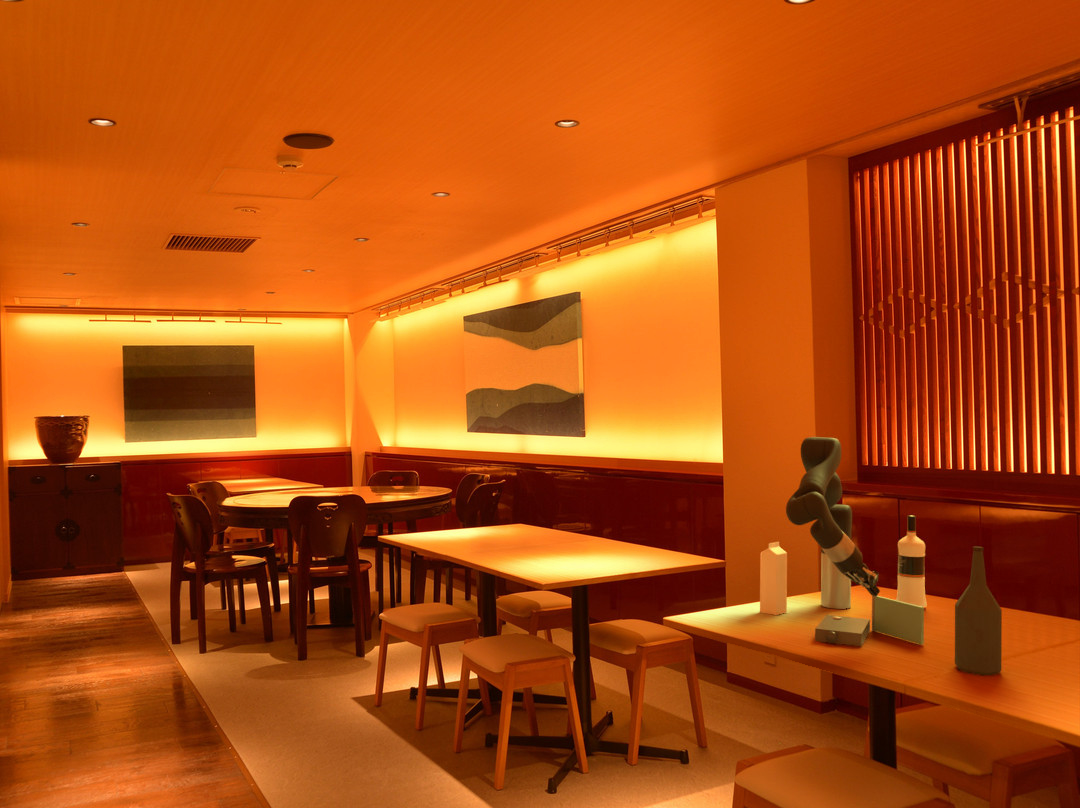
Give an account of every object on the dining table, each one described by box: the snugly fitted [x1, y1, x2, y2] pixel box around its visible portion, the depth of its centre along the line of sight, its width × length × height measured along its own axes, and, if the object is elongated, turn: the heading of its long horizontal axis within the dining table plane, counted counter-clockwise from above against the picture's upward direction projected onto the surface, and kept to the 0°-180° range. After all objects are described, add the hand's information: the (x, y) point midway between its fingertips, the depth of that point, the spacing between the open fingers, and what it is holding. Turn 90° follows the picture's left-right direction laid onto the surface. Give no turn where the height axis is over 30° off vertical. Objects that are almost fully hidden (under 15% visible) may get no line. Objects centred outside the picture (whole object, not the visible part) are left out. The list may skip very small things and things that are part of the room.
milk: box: [759, 541, 788, 616], centre depth 281 cm, size 6×6×22 cm
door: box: [871, 595, 925, 645], centre depth 250 cm, size 18×1×10 cm, turn 24°
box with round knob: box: [814, 614, 871, 647], centre depth 250 cm, size 22×12×4 cm, turn 154°
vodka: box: [895, 515, 928, 608], centre depth 292 cm, size 9×9×30 cm
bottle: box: [954, 546, 1003, 676], centre depth 218 cm, size 10×10×30 cm
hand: (876, 593), depth 244 cm, fingers closed
